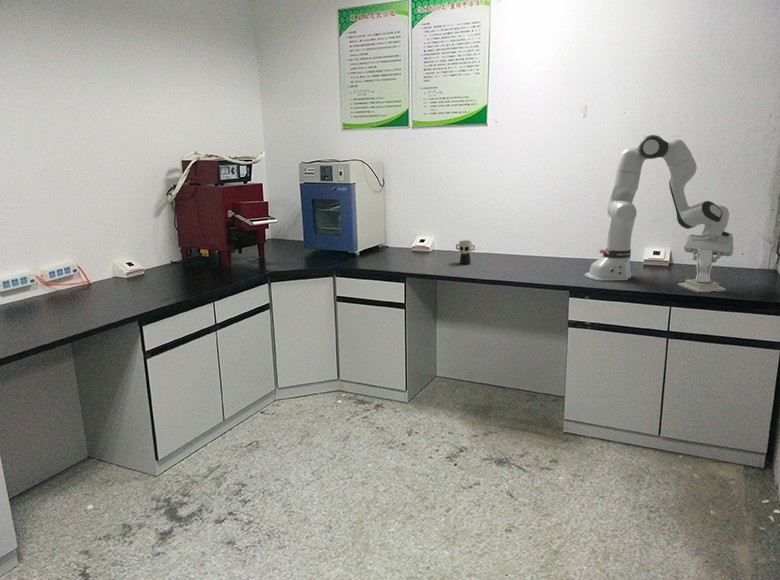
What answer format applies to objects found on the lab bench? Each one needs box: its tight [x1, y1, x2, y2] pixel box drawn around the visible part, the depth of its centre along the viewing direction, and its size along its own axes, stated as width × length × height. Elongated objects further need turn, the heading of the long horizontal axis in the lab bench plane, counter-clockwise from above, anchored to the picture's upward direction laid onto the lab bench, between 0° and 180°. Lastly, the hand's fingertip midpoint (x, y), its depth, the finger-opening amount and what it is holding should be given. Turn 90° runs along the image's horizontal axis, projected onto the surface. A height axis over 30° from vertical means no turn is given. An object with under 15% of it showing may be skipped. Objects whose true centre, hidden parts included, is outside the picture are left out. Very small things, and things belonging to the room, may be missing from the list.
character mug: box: [455, 239, 476, 265], centre depth 329 cm, size 11×7×13 cm, turn 69°
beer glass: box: [695, 249, 715, 282], centre depth 265 cm, size 7×7×15 cm
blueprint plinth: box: [677, 278, 726, 293], centre depth 267 cm, size 14×14×3 cm
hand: (704, 260), depth 264 cm, fingers closed on beer glass, 7 cm apart
